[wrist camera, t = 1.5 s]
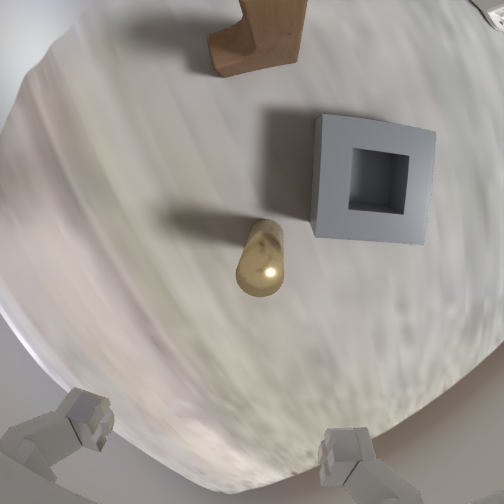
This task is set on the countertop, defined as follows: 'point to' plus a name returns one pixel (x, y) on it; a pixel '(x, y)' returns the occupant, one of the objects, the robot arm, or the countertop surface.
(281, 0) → the wooden block
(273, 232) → the brass pin
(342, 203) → the hole holder
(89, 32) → the countertop surface
